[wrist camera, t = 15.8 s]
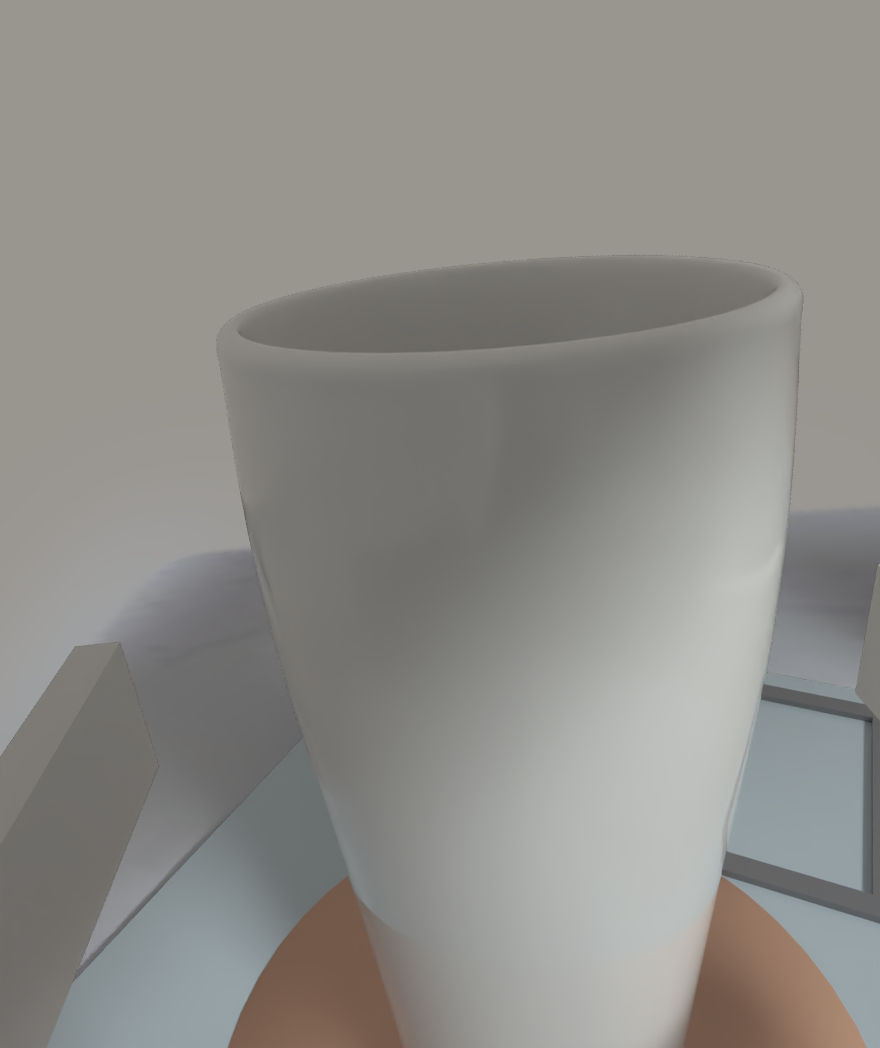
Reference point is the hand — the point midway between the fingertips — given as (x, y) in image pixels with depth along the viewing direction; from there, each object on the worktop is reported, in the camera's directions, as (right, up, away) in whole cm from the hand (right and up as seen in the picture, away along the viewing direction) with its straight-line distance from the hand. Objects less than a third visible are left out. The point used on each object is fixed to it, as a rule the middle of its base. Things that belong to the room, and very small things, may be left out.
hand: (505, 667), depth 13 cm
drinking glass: (+1, -8, +2) cm, 9 cm away
